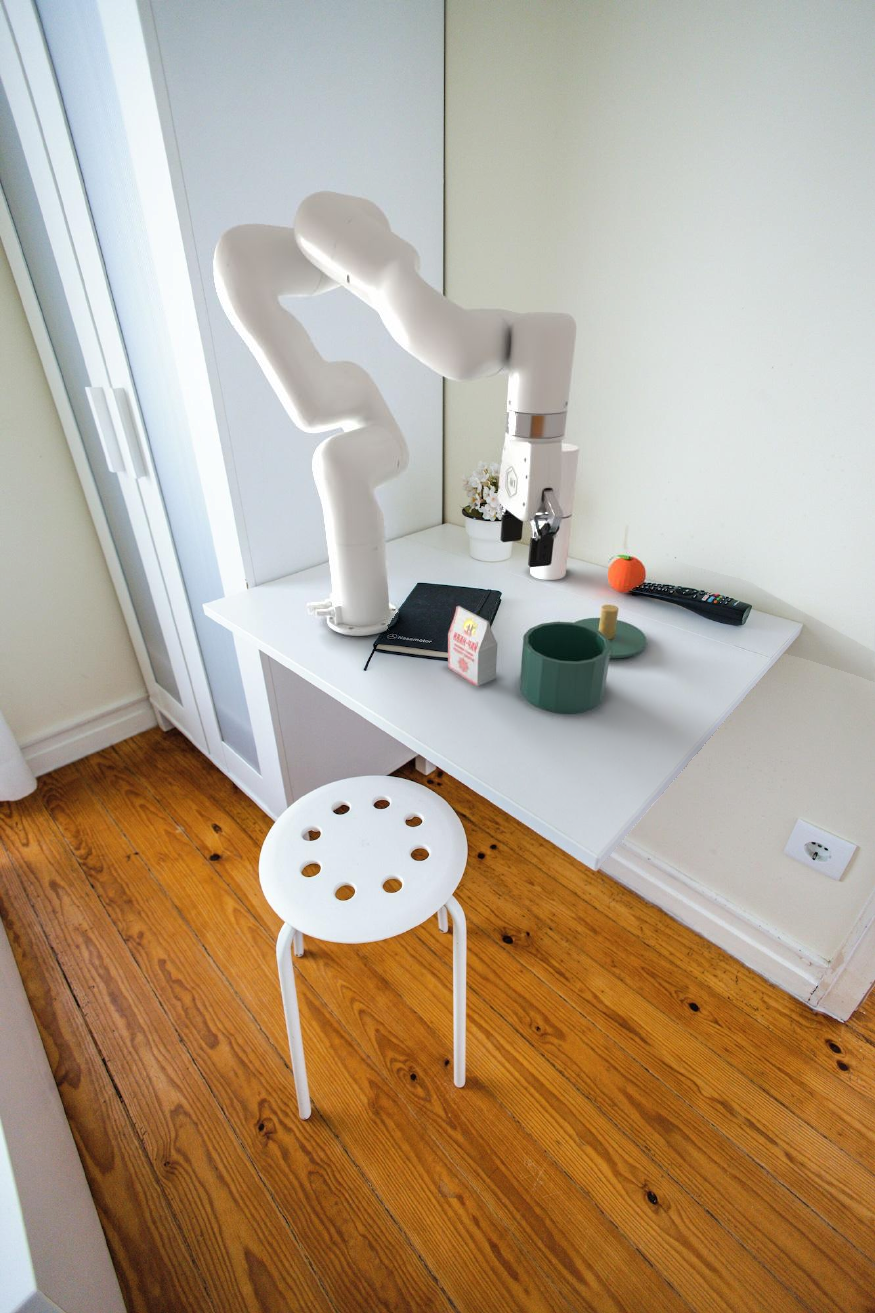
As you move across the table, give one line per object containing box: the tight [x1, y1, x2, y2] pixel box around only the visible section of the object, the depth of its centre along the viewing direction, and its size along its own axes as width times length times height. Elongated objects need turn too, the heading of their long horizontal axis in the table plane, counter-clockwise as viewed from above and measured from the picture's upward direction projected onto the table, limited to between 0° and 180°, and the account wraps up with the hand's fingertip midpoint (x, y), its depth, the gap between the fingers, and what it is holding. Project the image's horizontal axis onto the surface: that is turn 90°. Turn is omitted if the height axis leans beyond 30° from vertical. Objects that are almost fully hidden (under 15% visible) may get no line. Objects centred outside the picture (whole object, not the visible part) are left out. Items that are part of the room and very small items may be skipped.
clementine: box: [607, 554, 647, 594], centre depth 114 cm, size 8×7×7 cm
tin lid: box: [573, 604, 648, 659], centre depth 97 cm, size 13×13×6 cm
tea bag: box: [447, 605, 498, 687], centre depth 88 cm, size 4×7×10 cm, turn 38°
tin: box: [519, 621, 611, 715], centre depth 85 cm, size 12×12×8 cm
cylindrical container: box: [530, 442, 580, 581], centre depth 117 cm, size 7×7×25 cm
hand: (524, 552), depth 85 cm, fingers open, 9 cm apart
